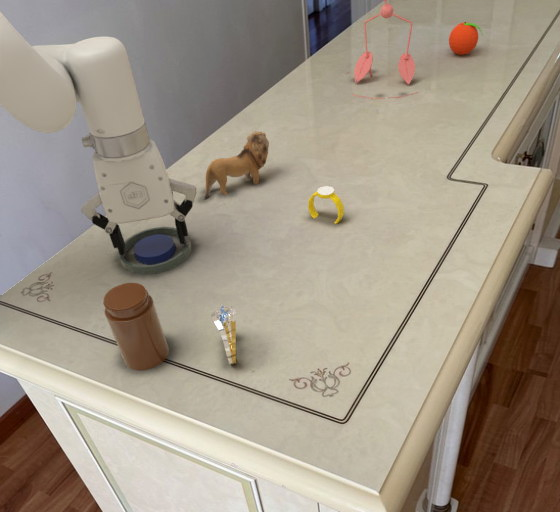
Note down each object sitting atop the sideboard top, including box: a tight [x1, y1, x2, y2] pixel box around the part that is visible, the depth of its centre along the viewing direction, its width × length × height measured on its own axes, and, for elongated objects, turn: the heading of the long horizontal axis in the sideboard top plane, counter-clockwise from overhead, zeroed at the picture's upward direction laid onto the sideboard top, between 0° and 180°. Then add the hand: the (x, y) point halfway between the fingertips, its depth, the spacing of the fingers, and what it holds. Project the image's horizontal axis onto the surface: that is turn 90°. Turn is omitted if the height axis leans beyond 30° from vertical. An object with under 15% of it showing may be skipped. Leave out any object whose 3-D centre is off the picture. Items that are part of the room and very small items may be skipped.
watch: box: [307, 185, 345, 225], centre depth 95 cm, size 6×3×6 cm, turn 57°
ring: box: [210, 303, 238, 365], centre depth 74 cm, size 7×3×8 cm, turn 5°
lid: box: [133, 234, 177, 265], centre depth 94 cm, size 7×7×2 cm
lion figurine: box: [203, 130, 270, 201], centre depth 105 cm, size 15×5×9 cm, turn 125°
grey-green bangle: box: [117, 226, 192, 276], centre depth 94 cm, size 11×11×2 cm
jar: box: [103, 282, 170, 371], centre depth 74 cm, size 6×6×11 cm
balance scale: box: [345, 0, 419, 100], centre depth 124 cm, size 15×26×35 cm, turn 65°
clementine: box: [448, 21, 483, 56], centre depth 143 cm, size 8×7×7 cm
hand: (152, 245), depth 94 cm, fingers open, 9 cm apart
